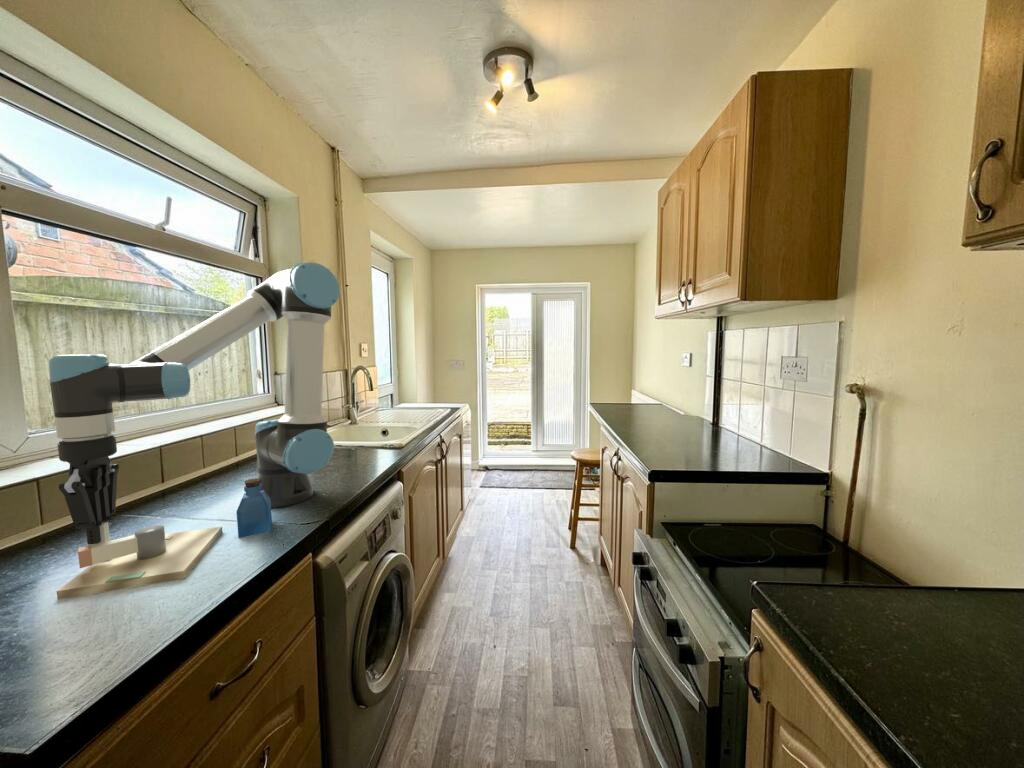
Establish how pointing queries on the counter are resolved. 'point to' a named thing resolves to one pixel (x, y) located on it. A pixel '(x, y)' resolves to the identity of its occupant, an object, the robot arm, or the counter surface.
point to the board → (144, 565)
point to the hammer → (126, 547)
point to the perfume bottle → (254, 510)
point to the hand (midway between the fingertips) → (100, 556)
